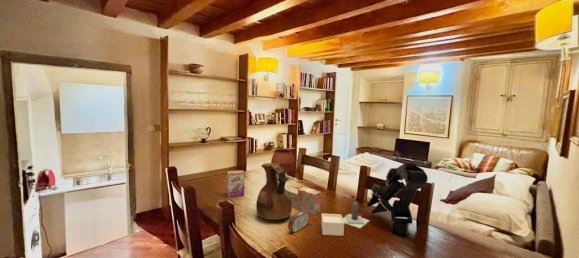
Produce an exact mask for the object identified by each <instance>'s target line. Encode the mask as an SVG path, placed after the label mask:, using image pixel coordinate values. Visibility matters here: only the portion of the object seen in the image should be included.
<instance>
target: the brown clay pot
mask: <svg viewBox="0 0 579 258" xmlns="http://www.w3.org/2000/svg"><path fill="white" fill-rule="evenodd" d="M295 162H296V161H295V157H294V155H293V152H292V149H289V148H277V149H274V151H273V155H272V157H271V160H270V163H280V165H279V166H281V168H282V169H283V171H284V173H285V178H286V182H287V181H288V180H289V178H288V177H287V176H286V174H287V173H289V172H290V171H291V170H293V168H294V166H295ZM277 180H278V182H279V179H278V178H277Z"/></svg>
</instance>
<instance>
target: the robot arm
mask: <svg viewBox="0 0 579 258" xmlns="http://www.w3.org/2000/svg"><path fill="white" fill-rule="evenodd" d="M428 178H429V177H428V175H427V173H426V172H425V170H424V169H423V168H421V167H420V166H418V165H417V164H416V163H414V162H403V163H402V164H401V165H399V166H398V167H395V168H392V167H391V168H390V169H389V170H388V172H387V174H386V177H385V181H384V183H385V185H386V186H381V185H379V184H376V183H373V184H372V186H371V188H370V189H371V198H370V200H369V201H368V203H367V205H366V206H367V207H371V206H374V205H375V204H377V205H376V206H375V207H374V209H372V210H371V212H370V213H371V214H372V215H374V214H379V213H383V212H390V221H391V222H392V227H391V230H392V232H391V234H392V235H395V236H398V237H401V238H405V239H406V238H407V237H408V236H409V234H410V232H409V225H412V224H413V217H412V212H411V209H410V206H411V203H412V201H413V200H414V197H415V195H416V193H417V191H418V190H420V189H422V188H424V186H425V185H426V184H427V182H428ZM403 180H404V181H405V183H404V182H403ZM402 190H403V191H402ZM401 191H402V193H401V195H400V198H399V199H395V198H396V196H397V194H399V193H400V192H401ZM392 199H395V200H394V201H393V203H392V204H391V202H390V201H391V200H392Z"/></svg>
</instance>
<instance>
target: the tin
mask: <svg viewBox="0 0 579 258" xmlns="http://www.w3.org/2000/svg"><path fill="white" fill-rule="evenodd" d="M309 221H310V213H308V212H307V211H305V210H300V211H298V212H296V213H294V214H293V215H292V216H290V218H289V220H288V223H287V229H288V231H289V232H292V233H297V232H298V231H300V230H302V229H304V228H305V227H306V226H307V225H308V224H309Z"/></svg>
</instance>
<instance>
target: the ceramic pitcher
mask: <svg viewBox="0 0 579 258" xmlns="http://www.w3.org/2000/svg"><path fill="white" fill-rule="evenodd" d="M279 165H280V163H271V162H266V163H263V164H261V166H260V167H261V168H263V170H264V171H265V177H266V180H265V181H266V182H265V184H264V185H263V186H262V187H261V189H260V191H259V193H258V195H257V198H256V208H255V209H256V214H257V215H258V217H260V218H262V219H266V220H280V219H286V218H288V217H289V216H290V215H291V214H292V212H293V207H292V201H291V198H290V195H289V193H288V191H287V190H288V189H286V187H285V186H286V182H287V181H286V178H285V176H286V175H285V173H284V171H283V169H282V168H281V166H279ZM277 179H279V181H278V180H277Z"/></svg>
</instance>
